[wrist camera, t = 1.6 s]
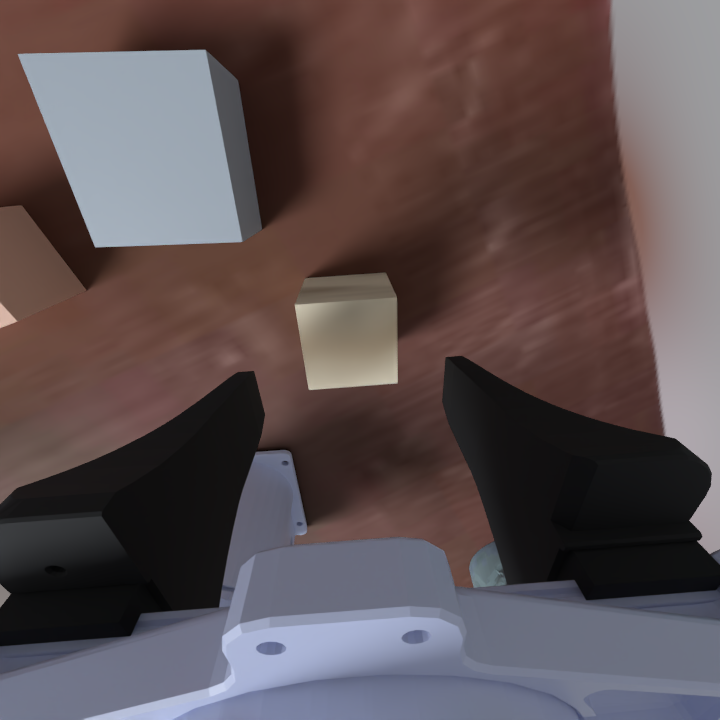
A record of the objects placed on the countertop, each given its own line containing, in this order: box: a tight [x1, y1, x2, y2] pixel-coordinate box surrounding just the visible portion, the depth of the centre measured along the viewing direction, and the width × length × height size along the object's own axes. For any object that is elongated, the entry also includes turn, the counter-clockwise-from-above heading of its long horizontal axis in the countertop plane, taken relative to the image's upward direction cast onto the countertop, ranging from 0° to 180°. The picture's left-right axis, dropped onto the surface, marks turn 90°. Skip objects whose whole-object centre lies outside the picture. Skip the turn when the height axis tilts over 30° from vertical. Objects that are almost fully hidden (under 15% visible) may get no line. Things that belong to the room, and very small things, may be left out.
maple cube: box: [295, 272, 398, 390], centre depth 18 cm, size 4×4×4 cm
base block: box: [18, 50, 262, 247], centre depth 14 cm, size 6×6×4 cm
